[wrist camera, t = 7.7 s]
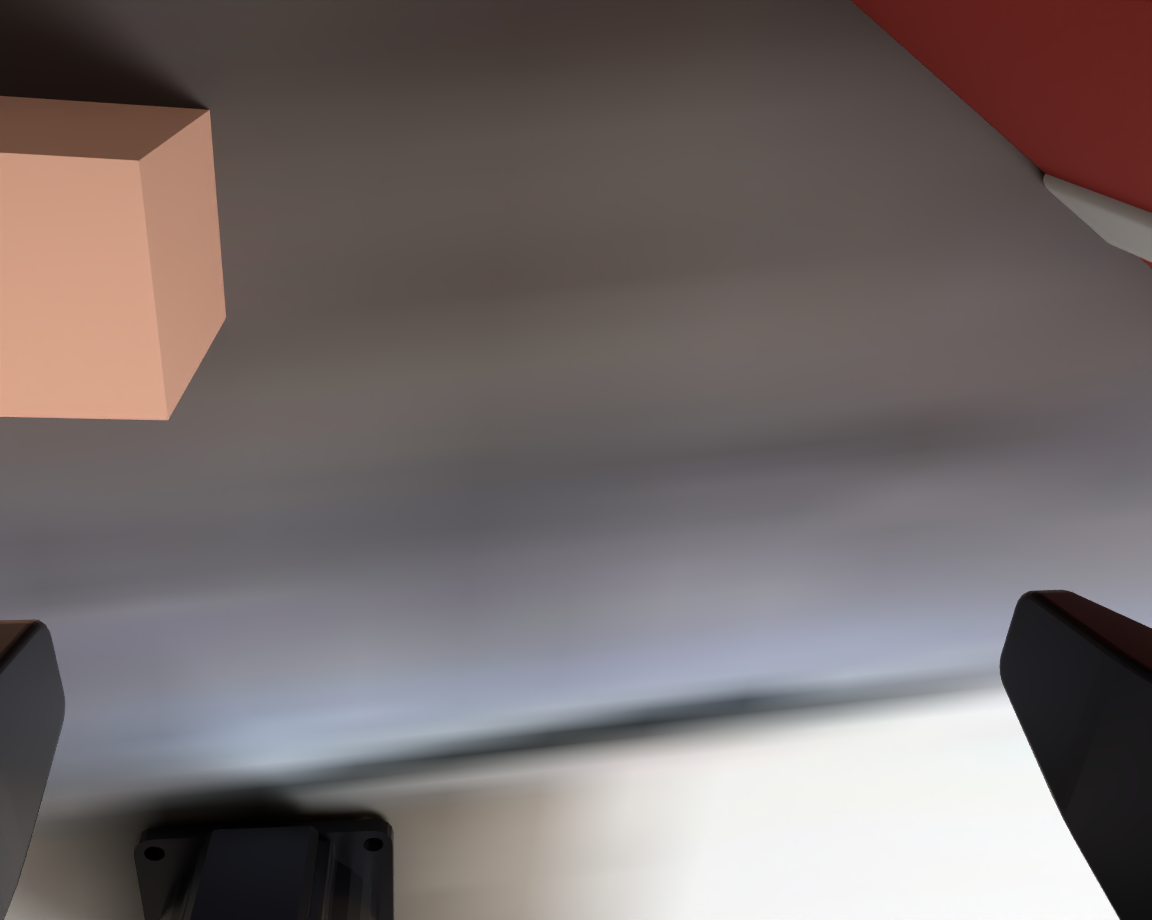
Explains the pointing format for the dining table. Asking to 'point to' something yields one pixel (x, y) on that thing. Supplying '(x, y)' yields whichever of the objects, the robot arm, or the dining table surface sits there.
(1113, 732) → the robot arm
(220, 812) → the dining table surface
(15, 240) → the terracotta block
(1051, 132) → the striped red arch
